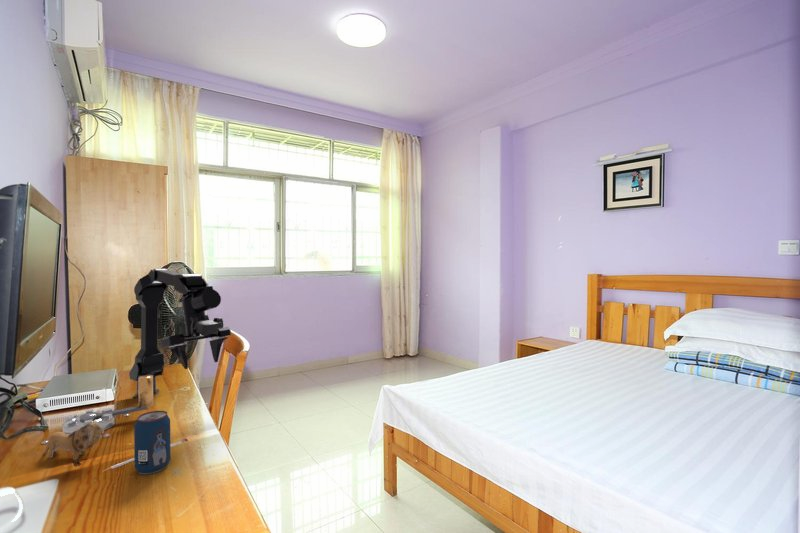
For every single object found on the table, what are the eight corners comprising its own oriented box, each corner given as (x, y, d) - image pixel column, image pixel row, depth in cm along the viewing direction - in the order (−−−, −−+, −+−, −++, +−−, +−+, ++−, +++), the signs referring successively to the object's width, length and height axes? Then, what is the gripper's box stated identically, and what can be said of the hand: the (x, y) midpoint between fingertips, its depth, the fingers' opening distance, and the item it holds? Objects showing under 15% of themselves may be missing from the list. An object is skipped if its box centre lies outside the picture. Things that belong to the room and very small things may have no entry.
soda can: (148, 459, 93) (147, 409, 92) (177, 460, 92) (176, 409, 92) (126, 475, 86) (126, 421, 86) (158, 476, 86) (157, 421, 85)
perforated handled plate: (60, 441, 99) (60, 395, 99) (64, 426, 108) (63, 384, 107) (155, 421, 111) (154, 380, 111) (151, 409, 120) (151, 371, 120)
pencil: (187, 441, 102) (187, 439, 102) (102, 473, 87) (102, 470, 87) (186, 441, 103) (186, 438, 103) (101, 472, 87) (101, 469, 87)
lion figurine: (108, 455, 95) (108, 418, 95) (92, 467, 89) (91, 427, 89) (46, 456, 94) (45, 419, 94) (25, 468, 89) (25, 428, 89)
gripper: (176, 313, 107) (184, 370, 106) (237, 306, 123) (245, 356, 121) (157, 319, 113) (164, 373, 112) (217, 312, 129) (224, 360, 127)
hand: (201, 365), depth 118 cm, fingers open, 9 cm apart
